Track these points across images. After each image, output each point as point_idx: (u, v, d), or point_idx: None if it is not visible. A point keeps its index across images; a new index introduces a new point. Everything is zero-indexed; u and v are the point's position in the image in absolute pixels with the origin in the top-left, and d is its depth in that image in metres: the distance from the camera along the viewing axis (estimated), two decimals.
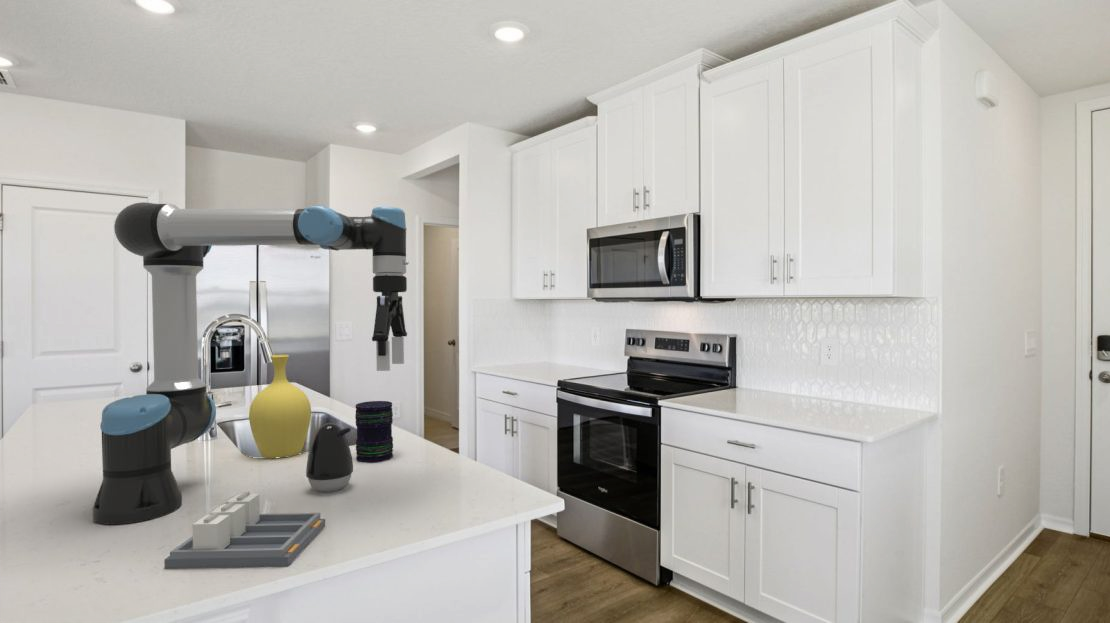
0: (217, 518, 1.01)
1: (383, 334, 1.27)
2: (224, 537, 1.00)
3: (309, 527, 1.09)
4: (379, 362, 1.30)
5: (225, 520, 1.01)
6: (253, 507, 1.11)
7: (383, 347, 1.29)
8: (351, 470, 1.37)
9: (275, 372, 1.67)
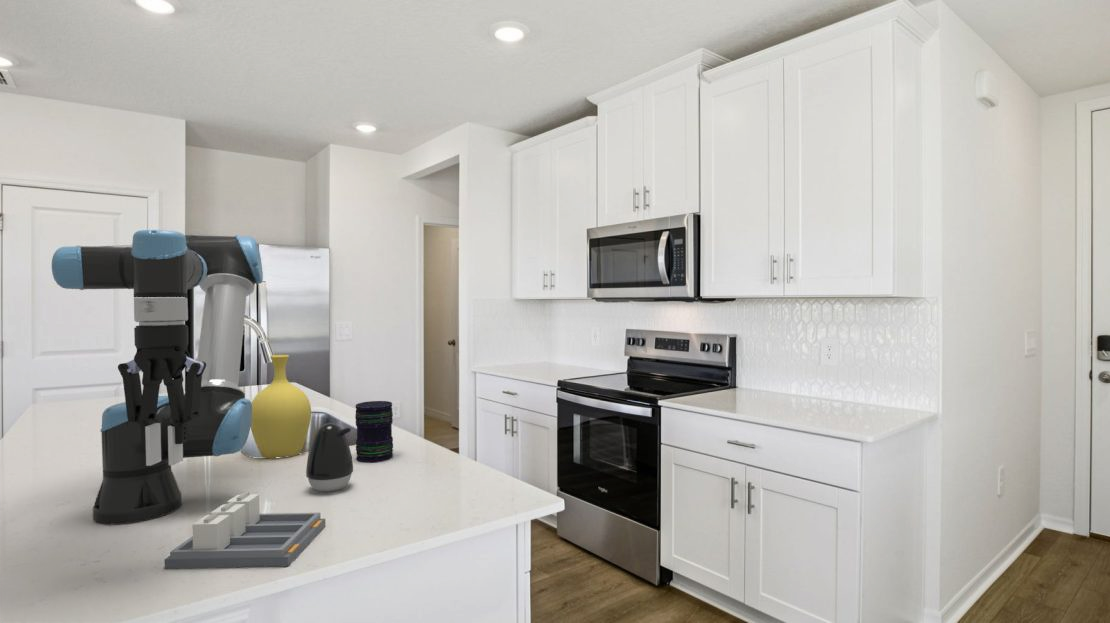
0: (217, 518, 1.01)
1: None
2: (224, 537, 1.00)
3: (309, 527, 1.09)
4: None
5: (225, 520, 1.01)
6: (253, 507, 1.11)
7: None
8: (351, 470, 1.37)
9: (275, 372, 1.67)
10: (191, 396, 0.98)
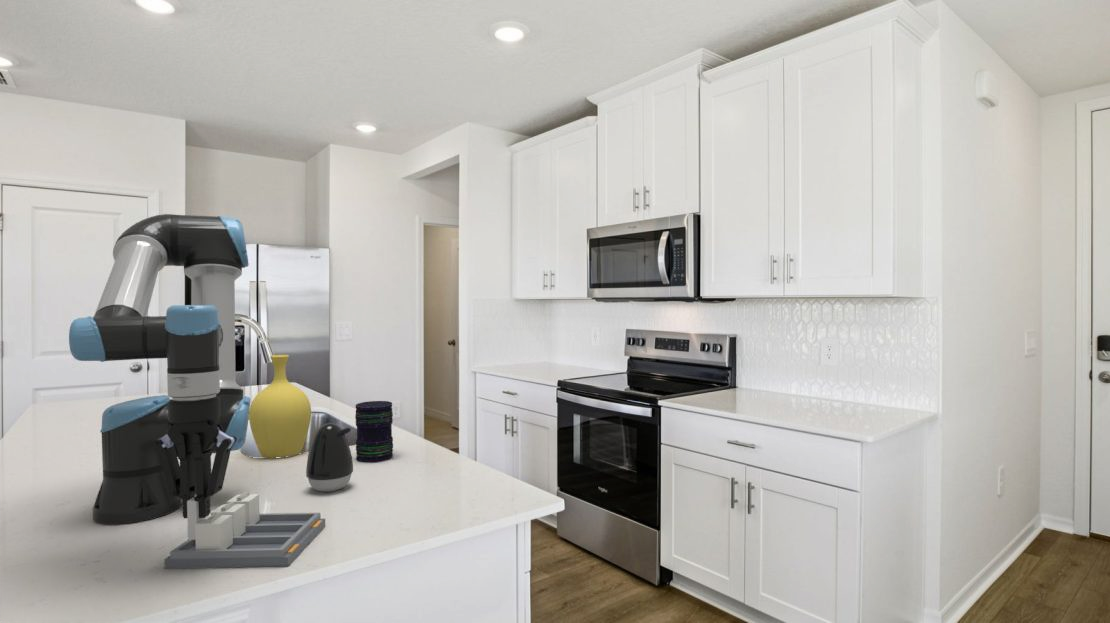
0: (220, 518, 1.01)
1: None
2: (227, 537, 1.00)
3: (309, 527, 1.09)
4: None
5: (227, 520, 1.01)
6: (253, 507, 1.11)
7: None
8: (351, 470, 1.37)
9: (275, 372, 1.67)
10: (218, 471, 0.98)
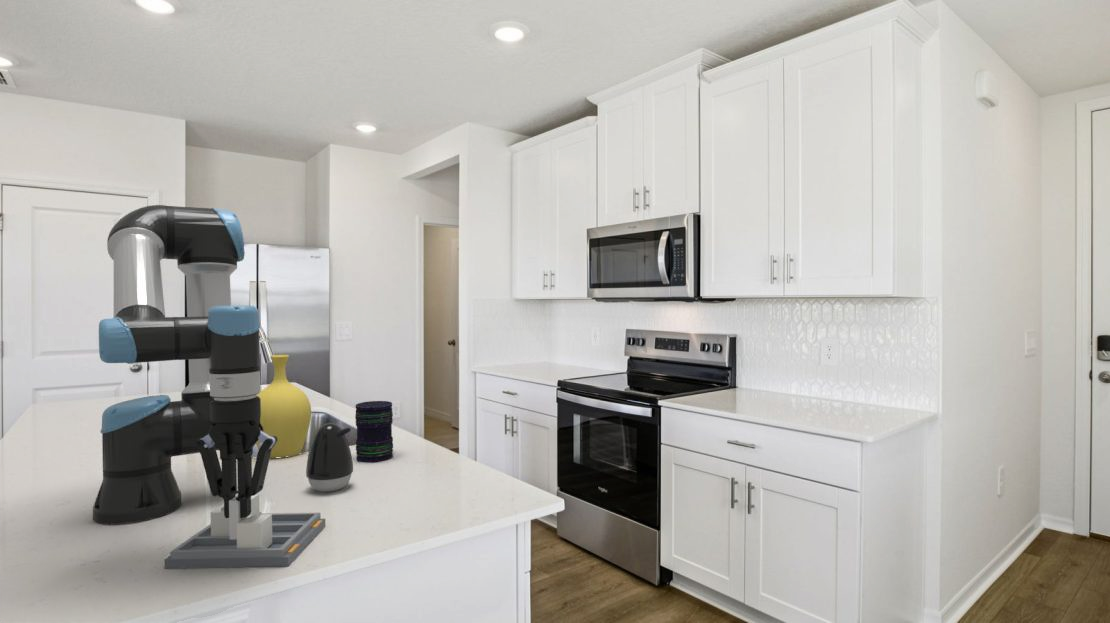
0: (260, 517, 1.01)
1: None
2: (267, 536, 1.01)
3: (309, 527, 1.09)
4: None
5: (268, 520, 1.01)
6: (253, 507, 1.11)
7: None
8: (351, 470, 1.37)
9: (275, 372, 1.67)
10: (259, 471, 0.99)
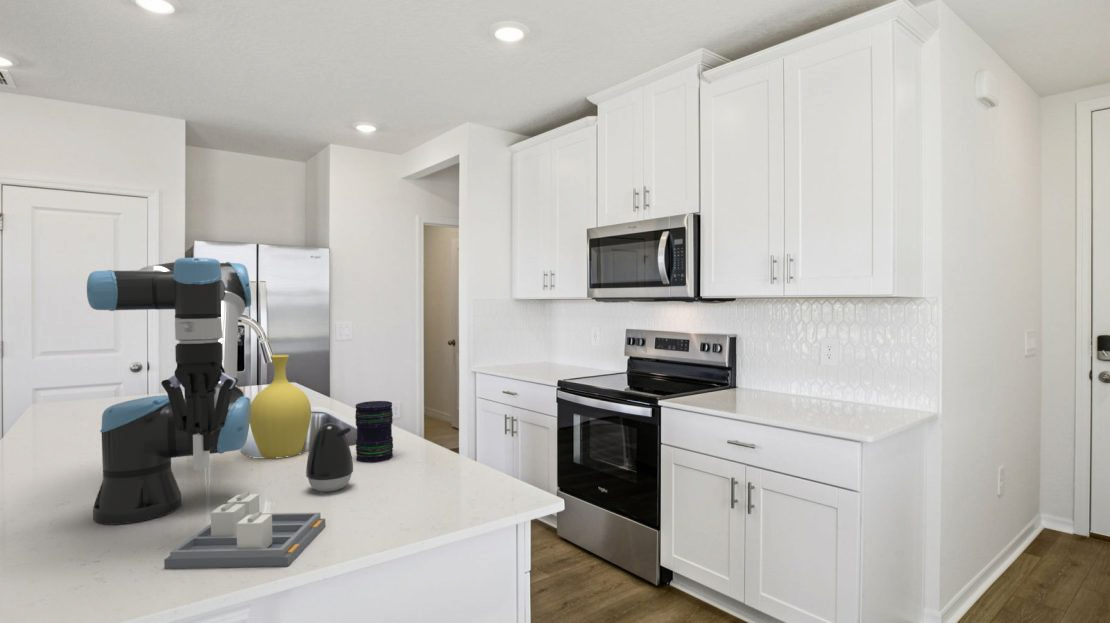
0: (260, 517, 1.01)
1: None
2: (267, 536, 1.01)
3: (309, 527, 1.09)
4: None
5: (268, 520, 1.01)
6: (253, 507, 1.11)
7: None
8: (351, 470, 1.37)
9: (275, 372, 1.67)
10: (221, 408, 1.09)
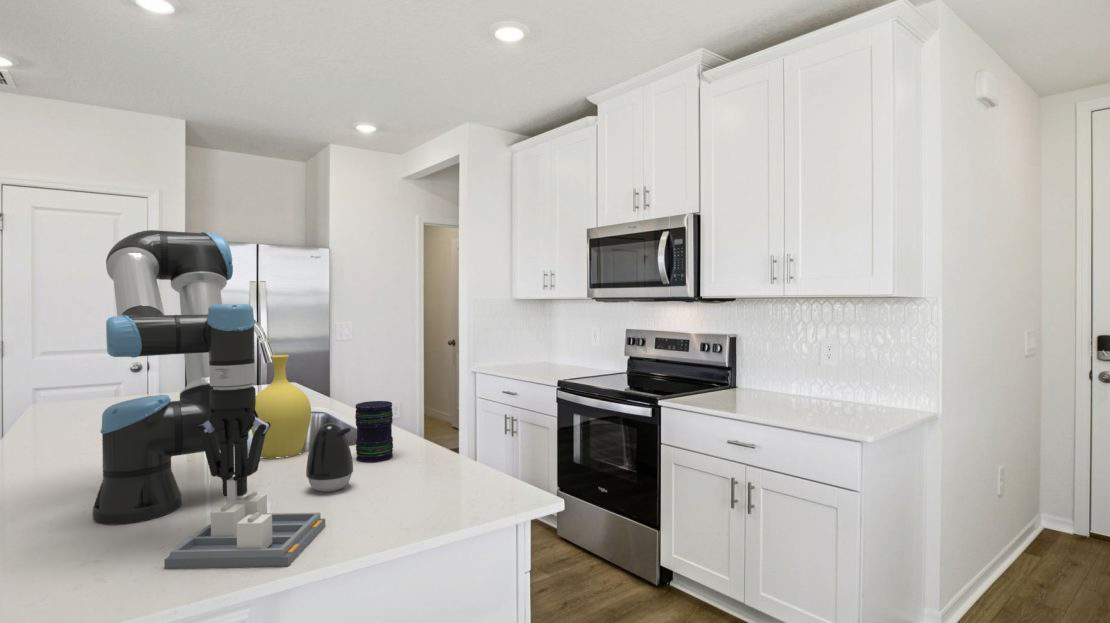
0: (260, 517, 1.01)
1: None
2: (267, 536, 1.01)
3: (309, 527, 1.09)
4: None
5: (268, 520, 1.01)
6: (261, 507, 1.11)
7: None
8: (351, 470, 1.37)
9: (275, 372, 1.67)
10: (254, 454, 1.09)
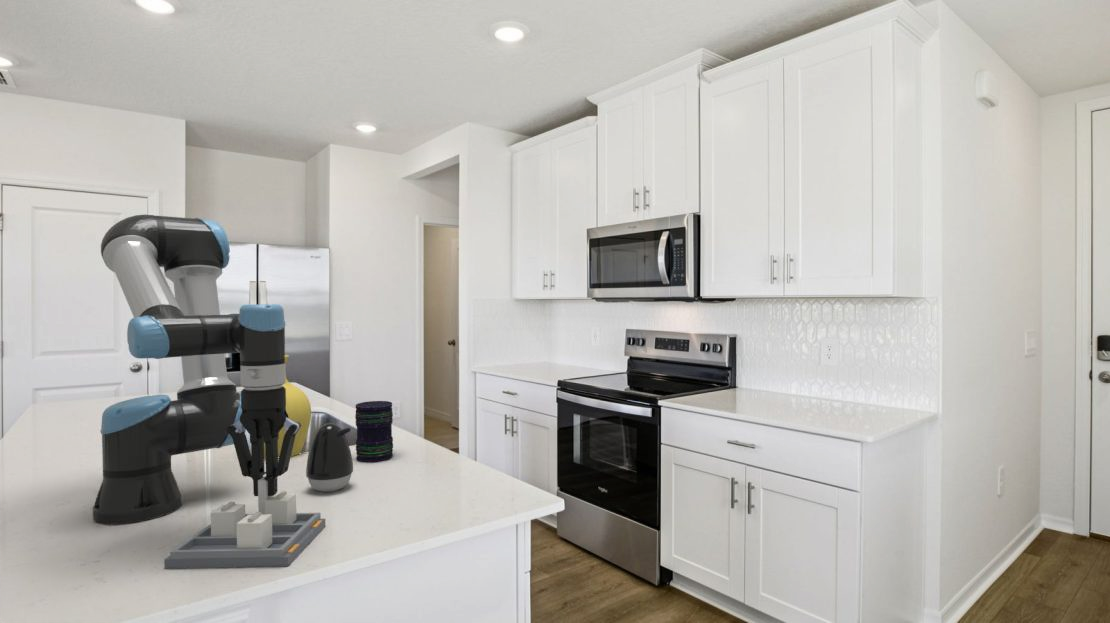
0: (260, 517, 1.01)
1: None
2: (267, 536, 1.01)
3: (309, 527, 1.09)
4: None
5: (268, 520, 1.01)
6: (291, 506, 1.11)
7: None
8: (351, 470, 1.37)
9: None
10: (285, 454, 1.10)
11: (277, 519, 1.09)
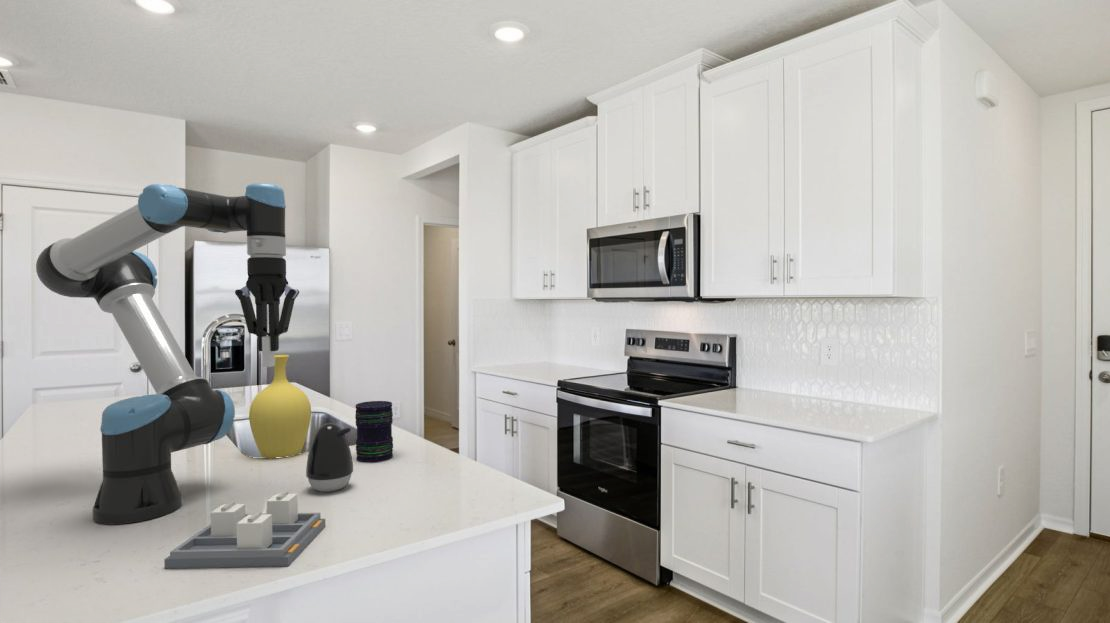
0: (260, 517, 1.01)
1: None
2: (267, 536, 1.01)
3: (309, 527, 1.09)
4: None
5: (268, 520, 1.01)
6: (292, 506, 1.11)
7: None
8: (351, 470, 1.37)
9: (275, 372, 1.67)
10: (286, 314, 1.27)
11: (279, 519, 1.09)
